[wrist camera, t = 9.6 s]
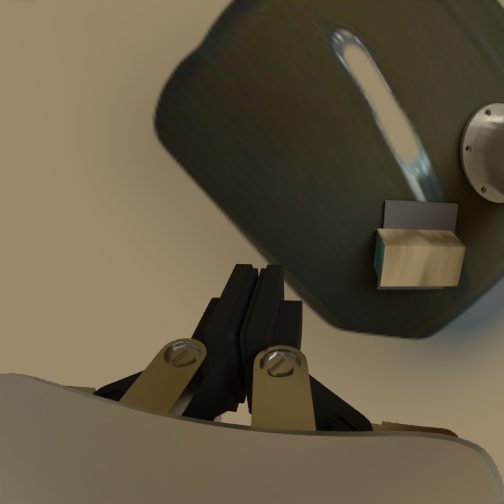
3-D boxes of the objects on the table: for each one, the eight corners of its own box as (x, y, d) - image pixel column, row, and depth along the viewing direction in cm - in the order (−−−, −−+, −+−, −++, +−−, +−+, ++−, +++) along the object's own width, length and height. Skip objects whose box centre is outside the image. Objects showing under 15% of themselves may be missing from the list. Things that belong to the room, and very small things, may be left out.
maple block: (376, 228, 37) (450, 230, 35) (373, 265, 39) (444, 266, 37) (384, 245, 33) (465, 247, 31) (379, 286, 35) (457, 285, 33)
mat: (457, 203, 34) (458, 204, 33) (442, 287, 39) (443, 289, 38) (385, 200, 36) (385, 200, 35) (376, 288, 41) (377, 289, 40)
